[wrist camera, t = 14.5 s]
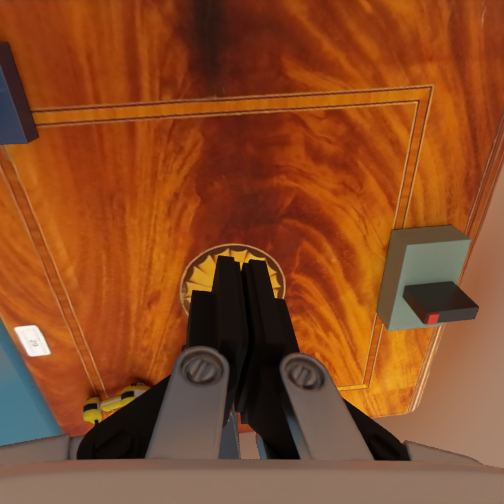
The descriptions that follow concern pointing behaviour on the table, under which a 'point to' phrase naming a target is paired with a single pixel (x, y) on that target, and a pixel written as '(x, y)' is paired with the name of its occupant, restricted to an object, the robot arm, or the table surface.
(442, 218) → the table surface
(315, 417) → the robot arm
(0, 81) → the button box
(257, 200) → the table surface
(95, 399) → the yellow hair dryer
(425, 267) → the panel
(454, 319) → the knob
